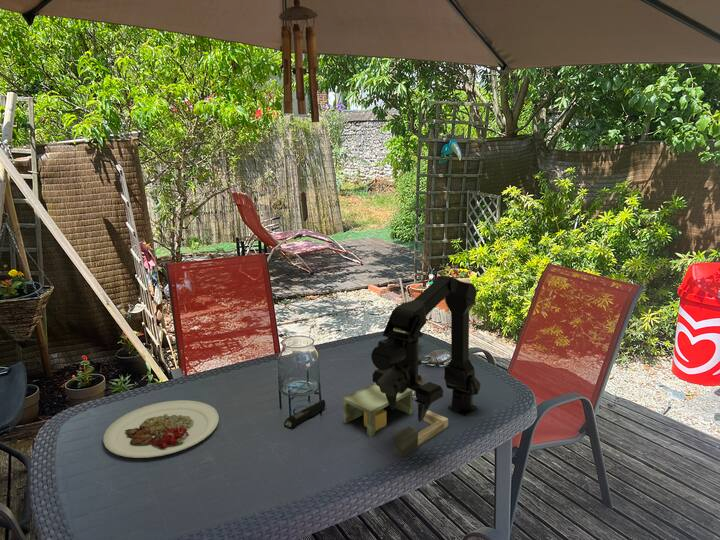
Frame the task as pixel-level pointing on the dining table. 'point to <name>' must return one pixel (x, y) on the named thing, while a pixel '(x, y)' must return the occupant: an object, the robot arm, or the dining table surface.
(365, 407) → the sage cubby
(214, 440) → the dining table surface
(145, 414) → the plated food
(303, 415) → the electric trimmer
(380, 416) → the ochre cube
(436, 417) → the crook tool
